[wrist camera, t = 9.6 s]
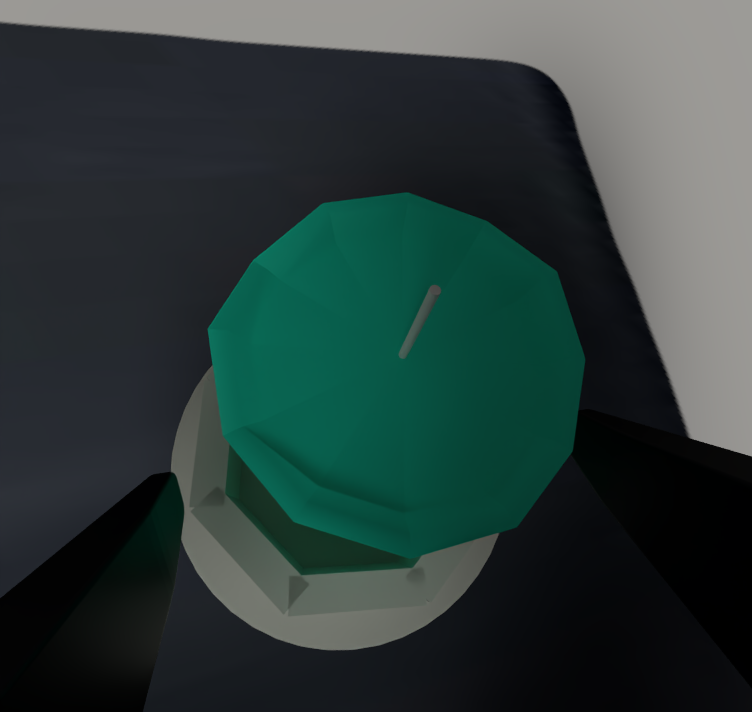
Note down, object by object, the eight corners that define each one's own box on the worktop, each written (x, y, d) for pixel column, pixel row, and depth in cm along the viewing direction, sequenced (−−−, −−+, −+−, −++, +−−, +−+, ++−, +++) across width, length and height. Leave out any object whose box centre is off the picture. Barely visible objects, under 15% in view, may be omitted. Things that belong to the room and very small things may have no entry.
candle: (382, 359, 18) (491, 80, 7) (456, 488, 16) (766, 397, 5) (248, 421, 16) (97, 180, 5) (315, 574, 14) (318, 729, 3)
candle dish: (524, 626, 15) (579, 652, 12) (153, 659, 13) (102, 701, 10) (475, 317, 20) (505, 278, 17) (200, 311, 18) (175, 266, 15)
